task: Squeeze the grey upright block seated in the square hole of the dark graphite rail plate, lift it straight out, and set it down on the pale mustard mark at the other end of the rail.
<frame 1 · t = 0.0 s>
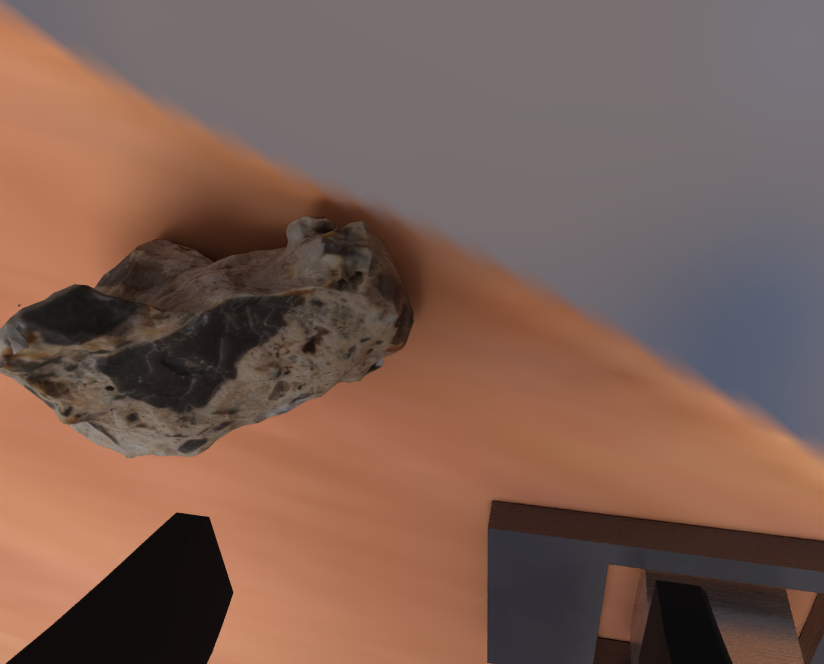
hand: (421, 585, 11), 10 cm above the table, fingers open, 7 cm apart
grey upright block: (700, 602, 25), resting in rail plate
rail plate: (807, 619, 24), on the table
rock: (269, 287, 22), on the table
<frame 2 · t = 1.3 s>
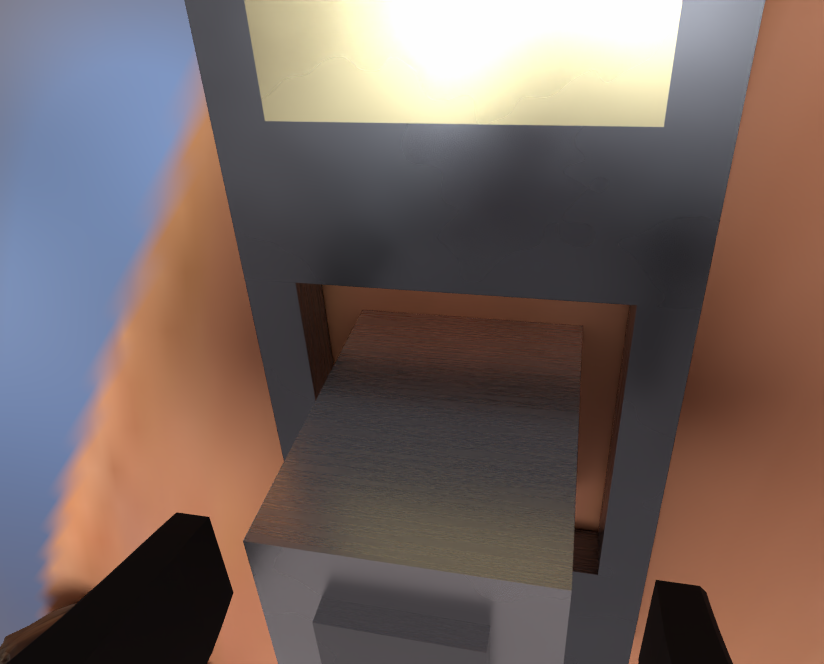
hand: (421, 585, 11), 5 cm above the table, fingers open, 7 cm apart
grey upright block: (470, 402, 15), resting in rail plate
rail plate: (467, 260, 13), on the table
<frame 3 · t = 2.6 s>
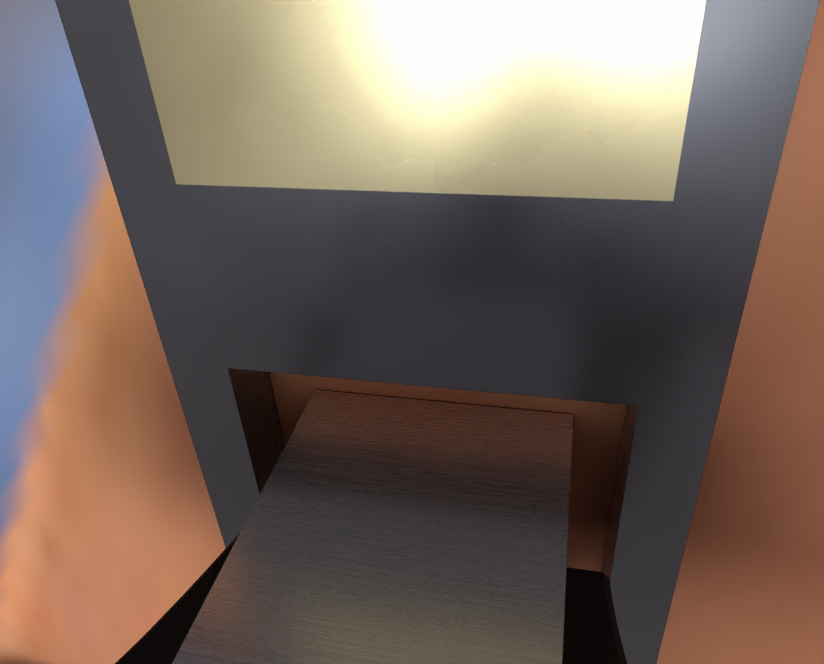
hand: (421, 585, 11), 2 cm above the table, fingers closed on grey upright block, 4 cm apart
grey upright block: (442, 493, 13), resting in rail plate, touching gripper
rail plate: (435, 338, 11), on the table
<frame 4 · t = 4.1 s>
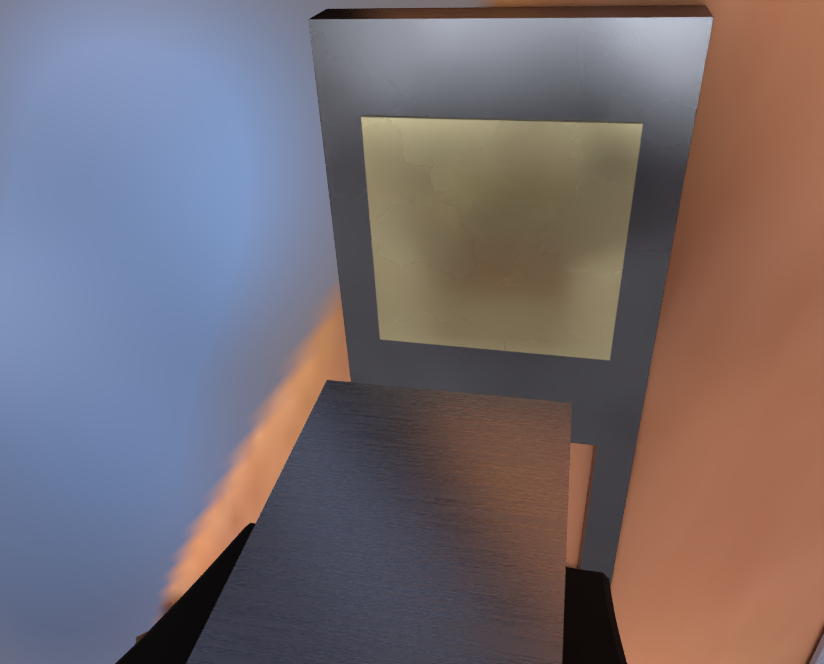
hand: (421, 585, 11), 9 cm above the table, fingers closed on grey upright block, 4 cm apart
grey upright block: (447, 478, 14), point 7 cm above the table, touching gripper
rail plate: (494, 406, 21), on the table
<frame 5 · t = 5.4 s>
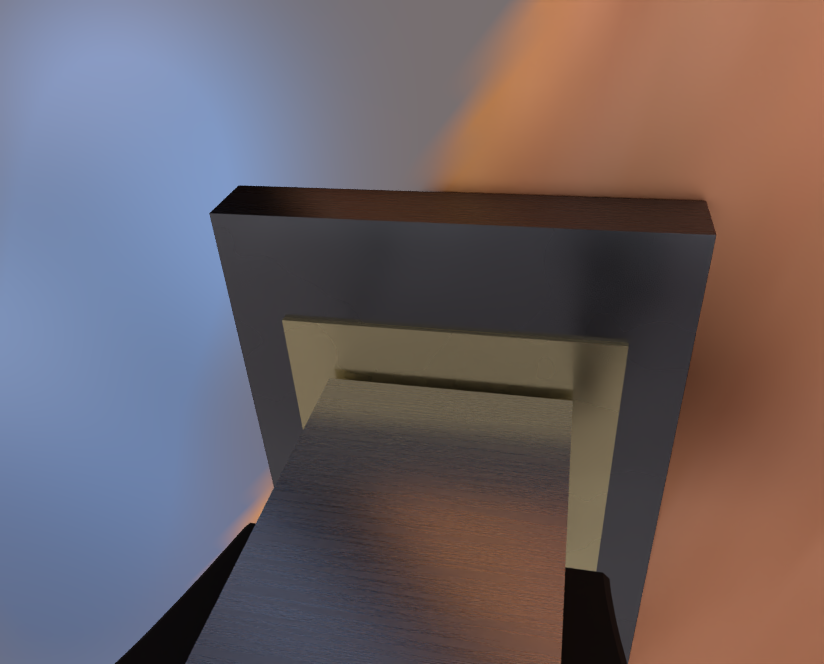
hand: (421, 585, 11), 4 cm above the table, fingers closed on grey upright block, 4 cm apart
grey upright block: (449, 476, 14), point 1 cm above the table, touching gripper
rail plate: (465, 592, 18), on the table
when the fingers open (4 cm above the table, at t = 6.0 s): grey upright block stays where it is, resting on rail plate.
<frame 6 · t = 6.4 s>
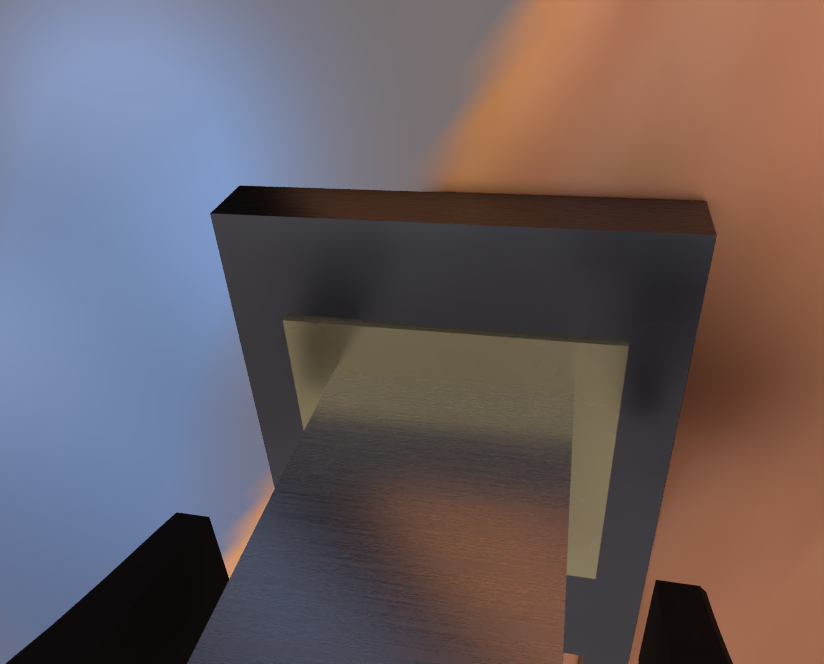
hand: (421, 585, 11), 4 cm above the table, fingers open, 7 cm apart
grey upright block: (452, 470, 14), point 1 cm above the table, touching rail plate
rail plate: (465, 592, 18), on the table
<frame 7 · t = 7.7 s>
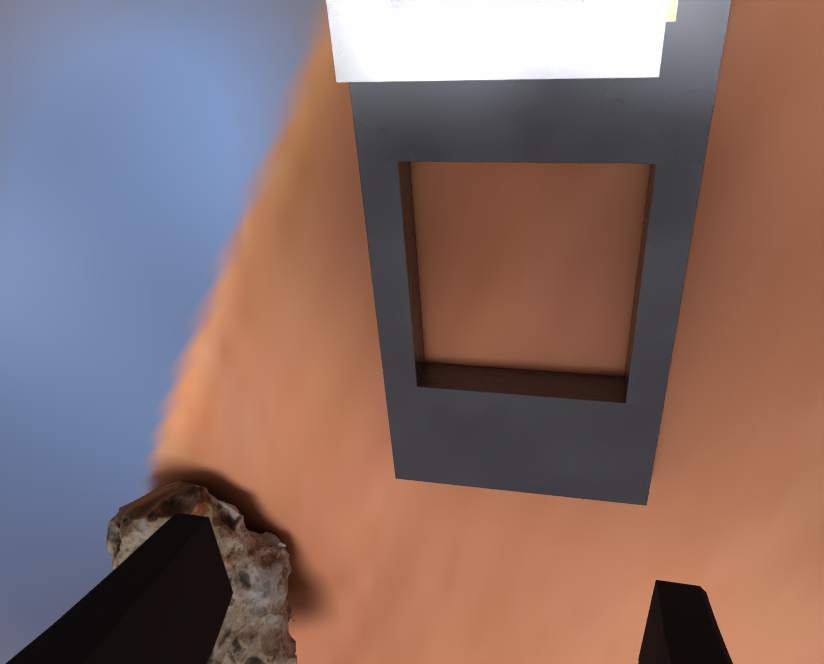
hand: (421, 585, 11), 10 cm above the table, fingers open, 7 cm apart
rail plate: (526, 144, 17), on the table
rock: (237, 546, 30), on the table
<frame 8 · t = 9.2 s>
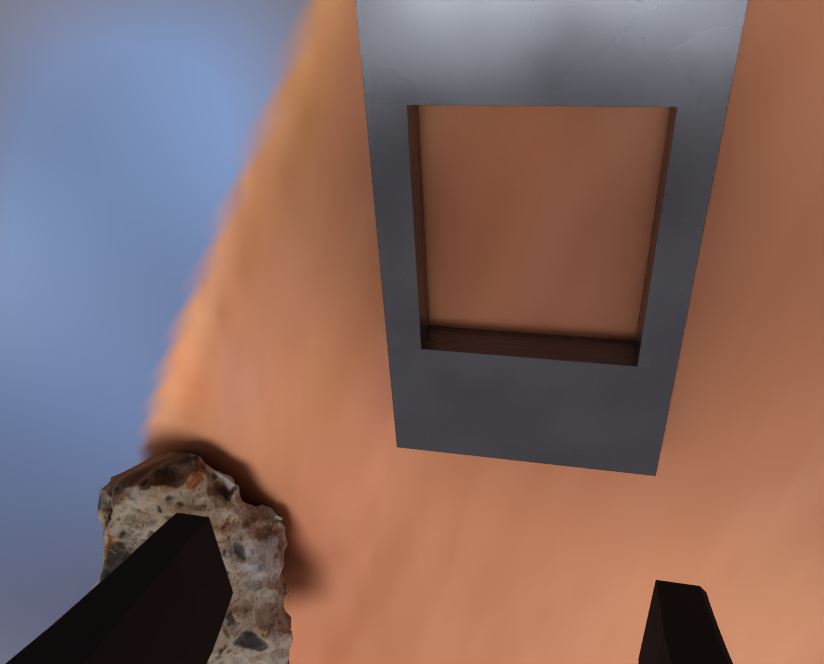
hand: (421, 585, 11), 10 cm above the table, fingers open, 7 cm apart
rail plate: (540, 90, 17), on the table
rock: (231, 520, 29), on the table
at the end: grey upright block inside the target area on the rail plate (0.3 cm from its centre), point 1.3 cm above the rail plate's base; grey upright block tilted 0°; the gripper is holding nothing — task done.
